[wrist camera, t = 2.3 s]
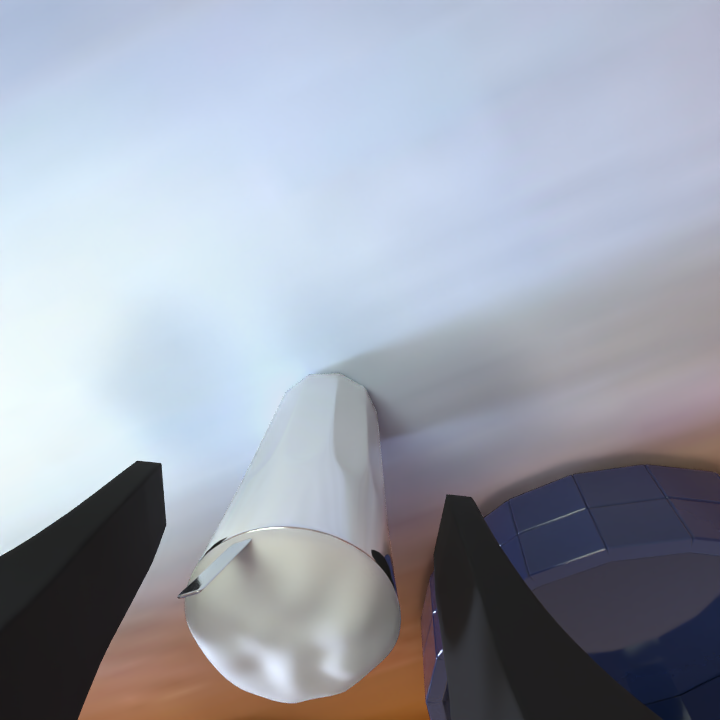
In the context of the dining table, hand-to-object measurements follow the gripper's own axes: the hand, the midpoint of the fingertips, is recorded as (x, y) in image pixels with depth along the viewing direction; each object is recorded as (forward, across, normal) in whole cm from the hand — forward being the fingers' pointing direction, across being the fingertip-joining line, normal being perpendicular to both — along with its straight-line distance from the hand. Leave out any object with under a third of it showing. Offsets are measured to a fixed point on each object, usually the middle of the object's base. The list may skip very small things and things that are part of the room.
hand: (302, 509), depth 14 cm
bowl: (+5, -12, +8) cm, 15 cm away
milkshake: (+6, 0, 0) cm, 6 cm away
